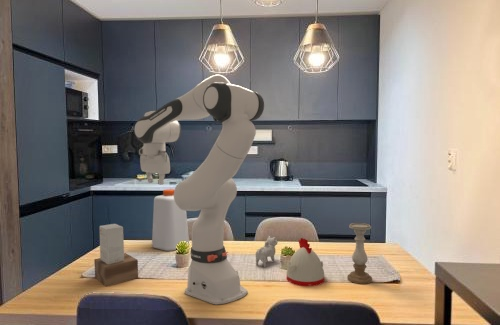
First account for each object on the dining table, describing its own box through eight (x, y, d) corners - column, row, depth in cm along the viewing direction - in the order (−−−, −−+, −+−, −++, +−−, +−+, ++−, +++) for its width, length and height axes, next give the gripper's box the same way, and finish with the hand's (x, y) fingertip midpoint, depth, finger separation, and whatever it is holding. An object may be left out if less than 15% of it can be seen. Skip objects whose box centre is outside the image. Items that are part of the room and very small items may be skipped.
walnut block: (138, 278, 139) (137, 259, 138) (106, 286, 131) (105, 267, 131) (125, 269, 148) (125, 252, 148) (94, 277, 140) (94, 259, 140)
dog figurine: (280, 259, 159) (280, 235, 158) (264, 268, 148) (264, 242, 148) (270, 257, 162) (270, 233, 161) (253, 265, 151) (253, 240, 151)
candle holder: (342, 277, 137) (342, 223, 136) (361, 274, 140) (362, 221, 139) (357, 285, 129) (357, 228, 128) (377, 282, 132) (377, 226, 131)
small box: (124, 261, 137) (123, 226, 136) (107, 265, 133) (106, 229, 132) (116, 256, 143) (115, 223, 143) (99, 259, 139) (98, 225, 138)
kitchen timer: (312, 270, 145) (311, 233, 144) (331, 282, 132) (331, 241, 131) (280, 275, 140) (280, 236, 139) (297, 288, 127) (297, 246, 126)
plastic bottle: (192, 244, 183) (191, 189, 182) (170, 252, 171) (168, 192, 169) (171, 240, 192) (170, 187, 190) (148, 247, 179) (146, 190, 178)
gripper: (173, 150, 146) (174, 184, 147) (150, 150, 162) (151, 181, 163) (159, 150, 142) (160, 186, 143) (137, 150, 158) (138, 182, 159)
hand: (155, 183), depth 153 cm, fingers open, 8 cm apart
